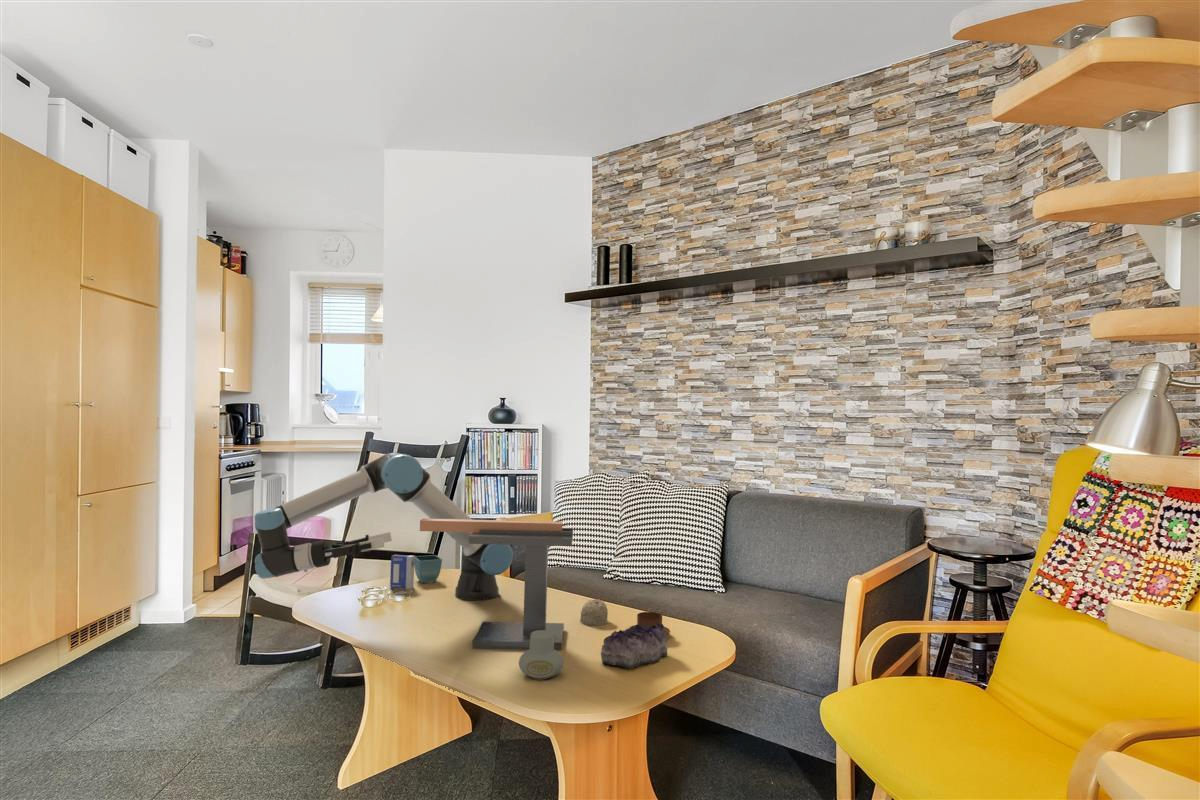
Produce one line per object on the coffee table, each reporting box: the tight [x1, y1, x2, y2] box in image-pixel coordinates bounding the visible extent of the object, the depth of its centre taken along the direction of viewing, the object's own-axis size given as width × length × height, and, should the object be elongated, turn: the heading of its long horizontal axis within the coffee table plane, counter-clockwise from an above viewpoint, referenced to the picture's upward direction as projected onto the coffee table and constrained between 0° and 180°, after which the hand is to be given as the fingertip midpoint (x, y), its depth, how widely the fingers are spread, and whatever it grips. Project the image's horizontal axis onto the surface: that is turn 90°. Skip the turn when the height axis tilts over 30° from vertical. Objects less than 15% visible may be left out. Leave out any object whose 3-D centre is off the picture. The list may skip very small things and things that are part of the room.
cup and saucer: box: [630, 611, 671, 638], centre depth 198 cm, size 12×12×6 cm
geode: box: [600, 623, 668, 669], centre depth 178 cm, size 20×12×10 cm, turn 134°
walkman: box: [389, 554, 416, 590], centre depth 248 cm, size 8×3×12 cm, turn 86°
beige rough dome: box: [579, 598, 609, 627], centre depth 211 cm, size 9×9×9 cm
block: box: [419, 517, 563, 533], centre depth 194 cm, size 40×4×3 cm, turn 91°
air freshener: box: [518, 630, 565, 680], centre depth 165 cm, size 11×8×10 cm
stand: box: [469, 527, 574, 651], centre depth 193 cm, size 28×18×31 cm, turn 91°
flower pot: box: [414, 554, 443, 584], centre depth 259 cm, size 9×9×9 cm
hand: (387, 539), depth 203 cm, fingers open, 13 cm apart
